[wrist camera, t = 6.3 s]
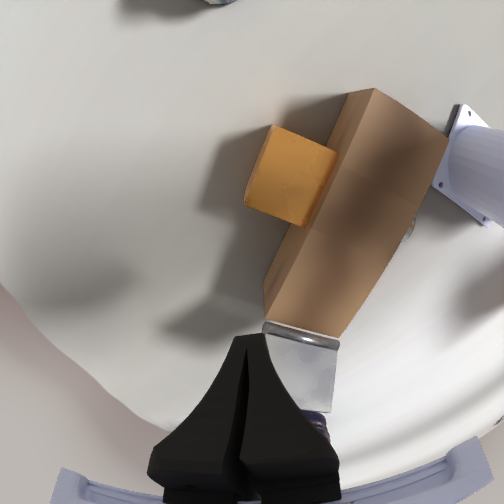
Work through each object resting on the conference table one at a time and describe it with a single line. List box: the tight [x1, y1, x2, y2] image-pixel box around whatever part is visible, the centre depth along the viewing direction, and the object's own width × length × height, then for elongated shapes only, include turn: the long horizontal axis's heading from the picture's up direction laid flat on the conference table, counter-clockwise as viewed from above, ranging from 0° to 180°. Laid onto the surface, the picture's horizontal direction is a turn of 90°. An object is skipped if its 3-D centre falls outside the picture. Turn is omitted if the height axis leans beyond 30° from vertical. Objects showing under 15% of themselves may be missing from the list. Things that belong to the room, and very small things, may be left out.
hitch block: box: [263, 88, 450, 338], centre depth 18 cm, size 6×16×5 cm, turn 159°
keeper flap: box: [262, 322, 340, 413], centre depth 18 cm, size 6×6×1 cm
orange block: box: [243, 124, 415, 242], centre depth 18 cm, size 12×5×4 cm, turn 69°
